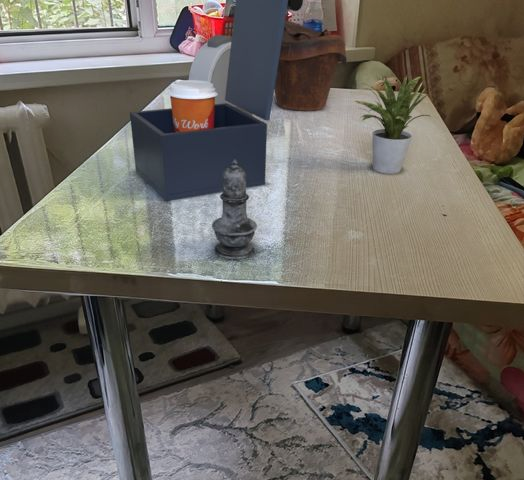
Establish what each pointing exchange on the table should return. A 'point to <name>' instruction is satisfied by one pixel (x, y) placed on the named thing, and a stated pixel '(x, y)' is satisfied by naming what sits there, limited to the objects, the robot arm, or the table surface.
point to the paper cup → (192, 105)
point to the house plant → (392, 125)
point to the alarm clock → (214, 66)
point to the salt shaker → (234, 217)
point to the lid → (256, 53)
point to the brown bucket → (307, 67)
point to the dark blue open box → (197, 151)
